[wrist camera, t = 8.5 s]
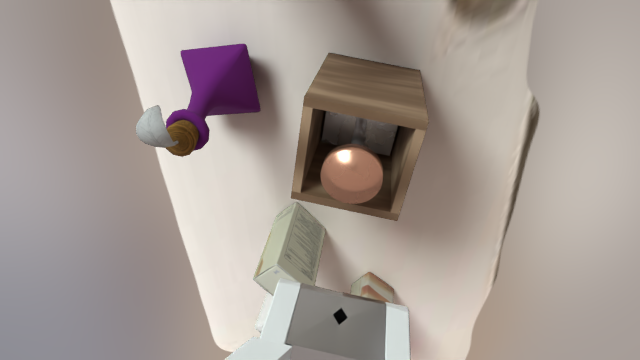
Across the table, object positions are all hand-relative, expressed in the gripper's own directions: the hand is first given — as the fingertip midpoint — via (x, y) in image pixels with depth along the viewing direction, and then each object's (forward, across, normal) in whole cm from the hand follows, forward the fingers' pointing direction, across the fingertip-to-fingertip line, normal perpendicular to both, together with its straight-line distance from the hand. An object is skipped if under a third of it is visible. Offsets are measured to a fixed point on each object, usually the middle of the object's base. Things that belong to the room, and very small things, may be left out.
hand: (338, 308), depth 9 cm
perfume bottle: (+38, +16, +10) cm, 42 cm away
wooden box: (+38, 0, +10) cm, 39 cm away
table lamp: (+34, 0, +10) cm, 36 cm away
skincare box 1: (+37, +5, +29) cm, 48 cm away
